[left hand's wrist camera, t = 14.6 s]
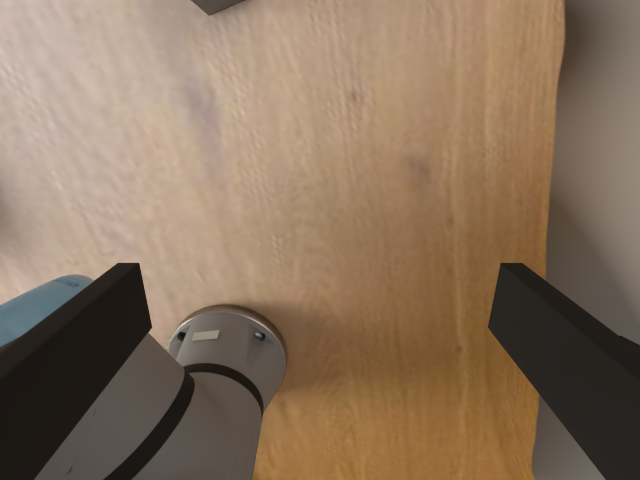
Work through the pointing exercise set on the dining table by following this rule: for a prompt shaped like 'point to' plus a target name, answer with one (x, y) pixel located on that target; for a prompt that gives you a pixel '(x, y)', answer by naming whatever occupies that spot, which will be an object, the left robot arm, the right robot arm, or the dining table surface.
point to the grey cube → (214, 5)
